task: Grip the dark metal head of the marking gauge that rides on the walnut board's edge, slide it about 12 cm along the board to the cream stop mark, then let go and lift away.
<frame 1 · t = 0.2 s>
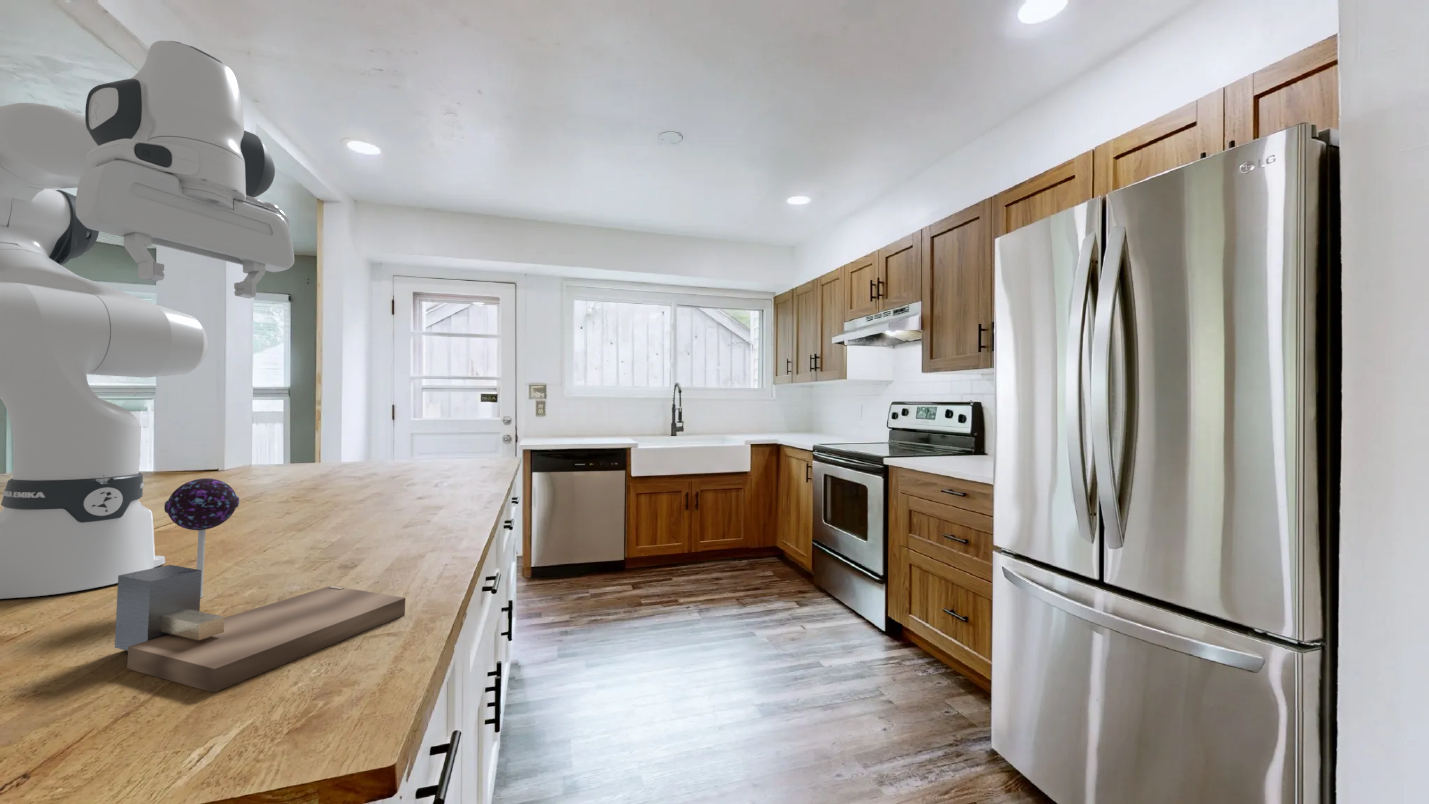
hand: (201, 288, 66), 39 cm above the countertop, tool pointing down, fingers open, 8 cm apart
board: (283, 638, 57), on the countertop
gauge: (176, 611, 53), point 4 cm above the countertop, slide at 0.0 cm
lollipop: (198, 599, 68), on the countertop
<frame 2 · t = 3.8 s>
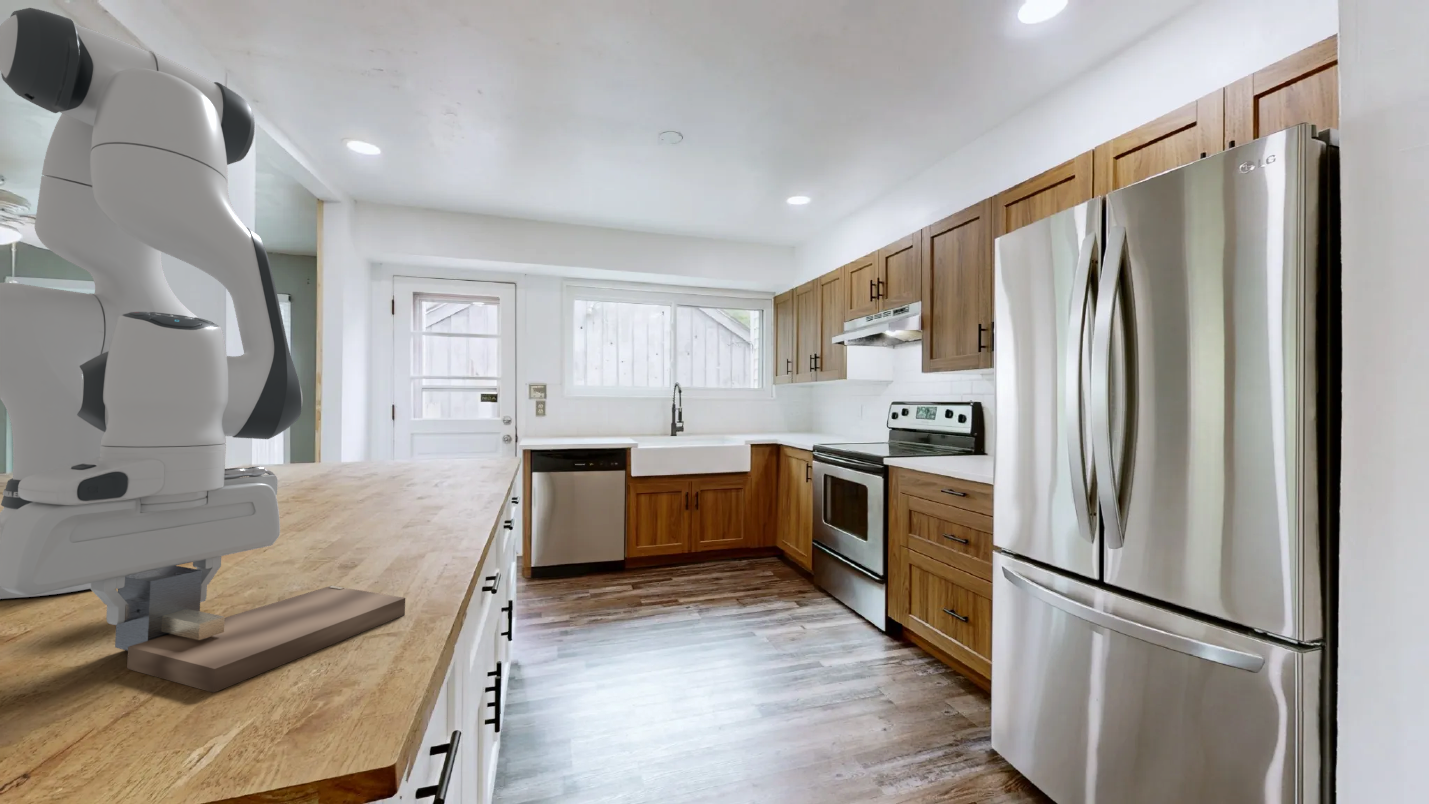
hand: (158, 612, 54), 4 cm above the countertop, tool pointing down, fingers closed on gauge, 4 cm apart
gauge: (177, 611, 53), point 4 cm above the countertop, slide at 0.0 cm, touching gripper
everything else where it was.
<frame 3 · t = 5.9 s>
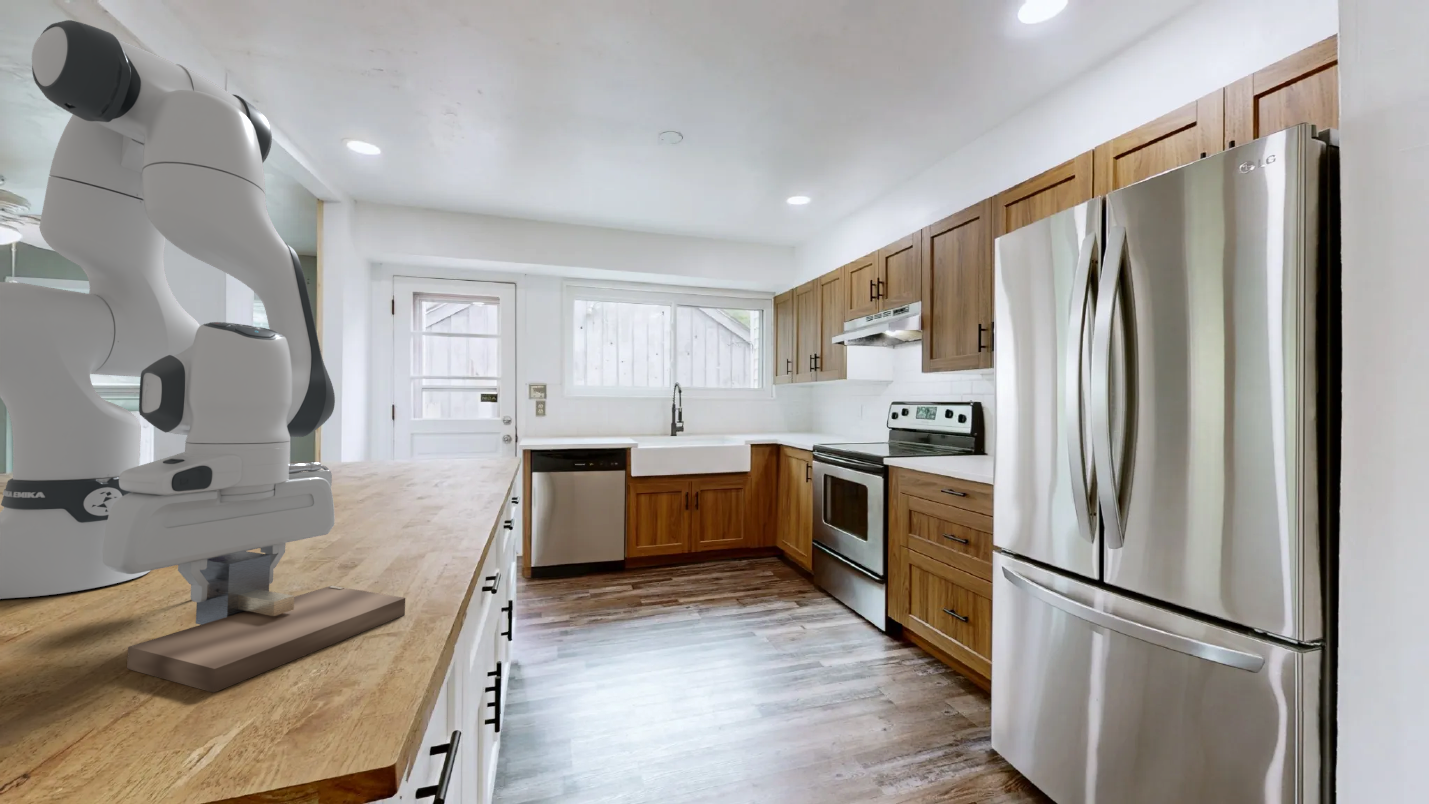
hand: (233, 592, 60), 4 cm above the countertop, tool pointing down, fingers closed on gauge, 4 cm apart
gauge: (250, 591, 59), point 4 cm above the countertop, slide at 6.5 cm, touching gripper
everything else where it was.
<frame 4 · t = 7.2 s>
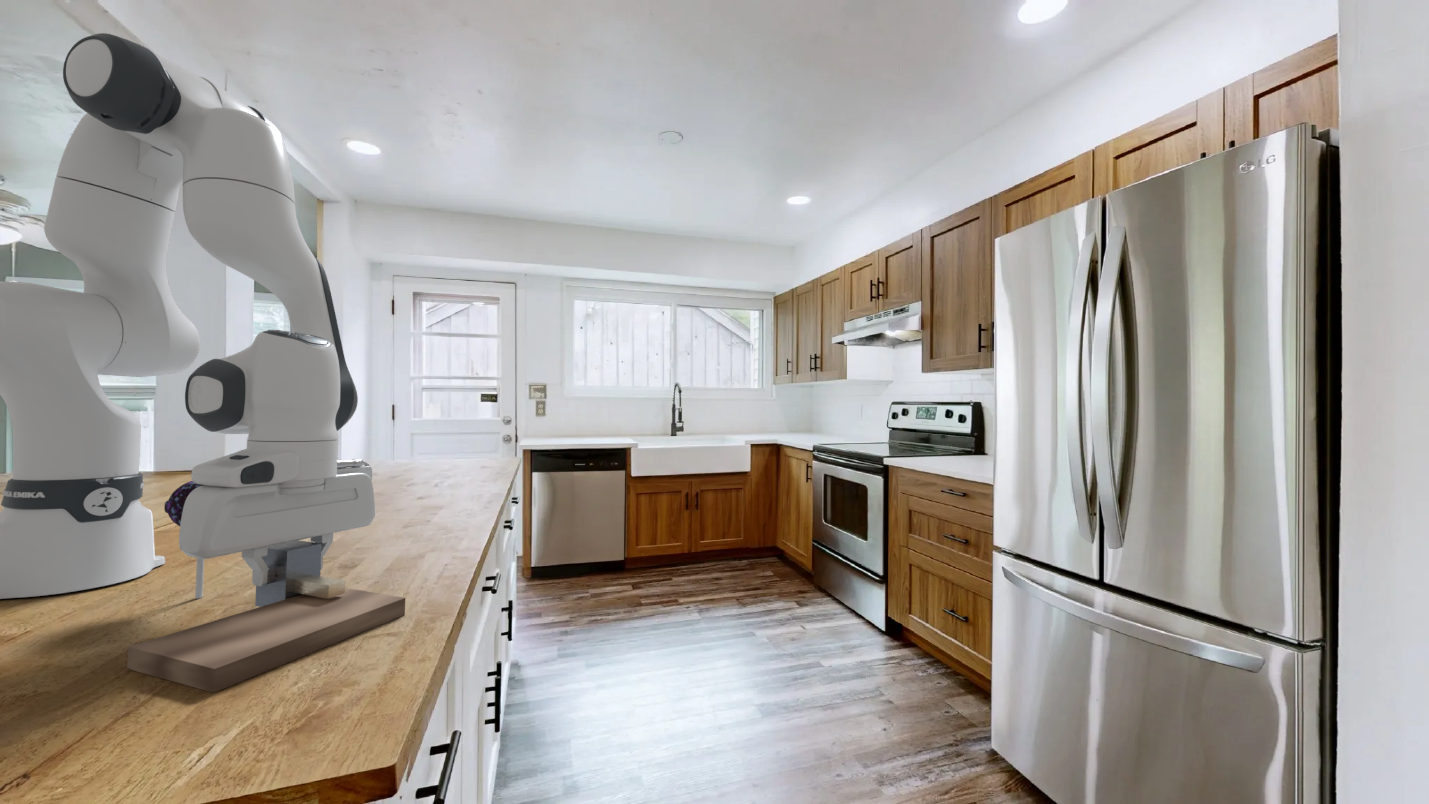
hand: (288, 577, 65), 4 cm above the countertop, tool pointing down, fingers closed on gauge, 4 cm apart
gauge: (305, 576, 64), point 4 cm above the countertop, slide at 12.2 cm, touching gripper
everything else where it was.
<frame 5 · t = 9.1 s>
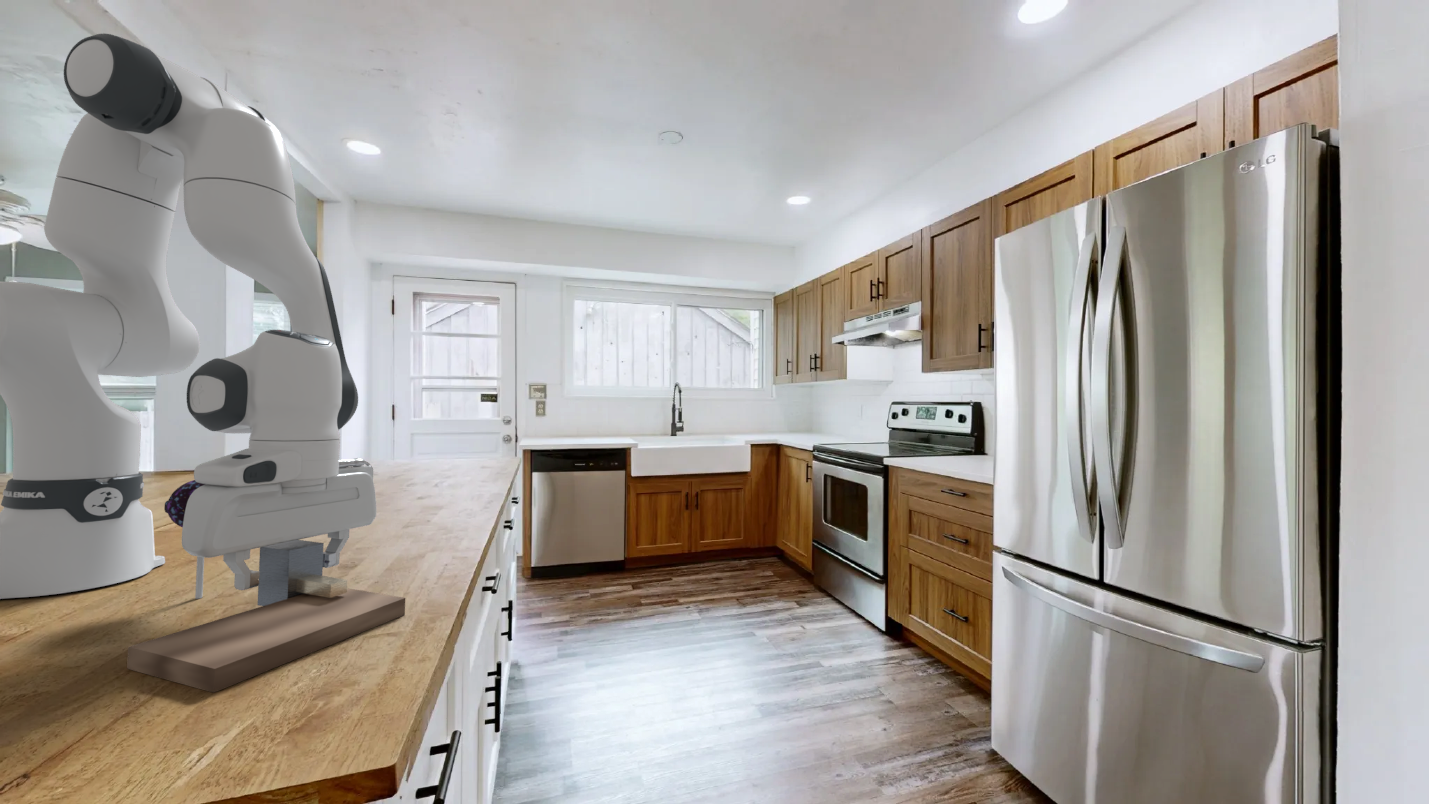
hand: (290, 576, 66), 4 cm above the countertop, tool pointing down, fingers open, 8 cm apart
gauge: (307, 576, 65), point 4 cm above the countertop, slide at 12.5 cm
everything else where it was.
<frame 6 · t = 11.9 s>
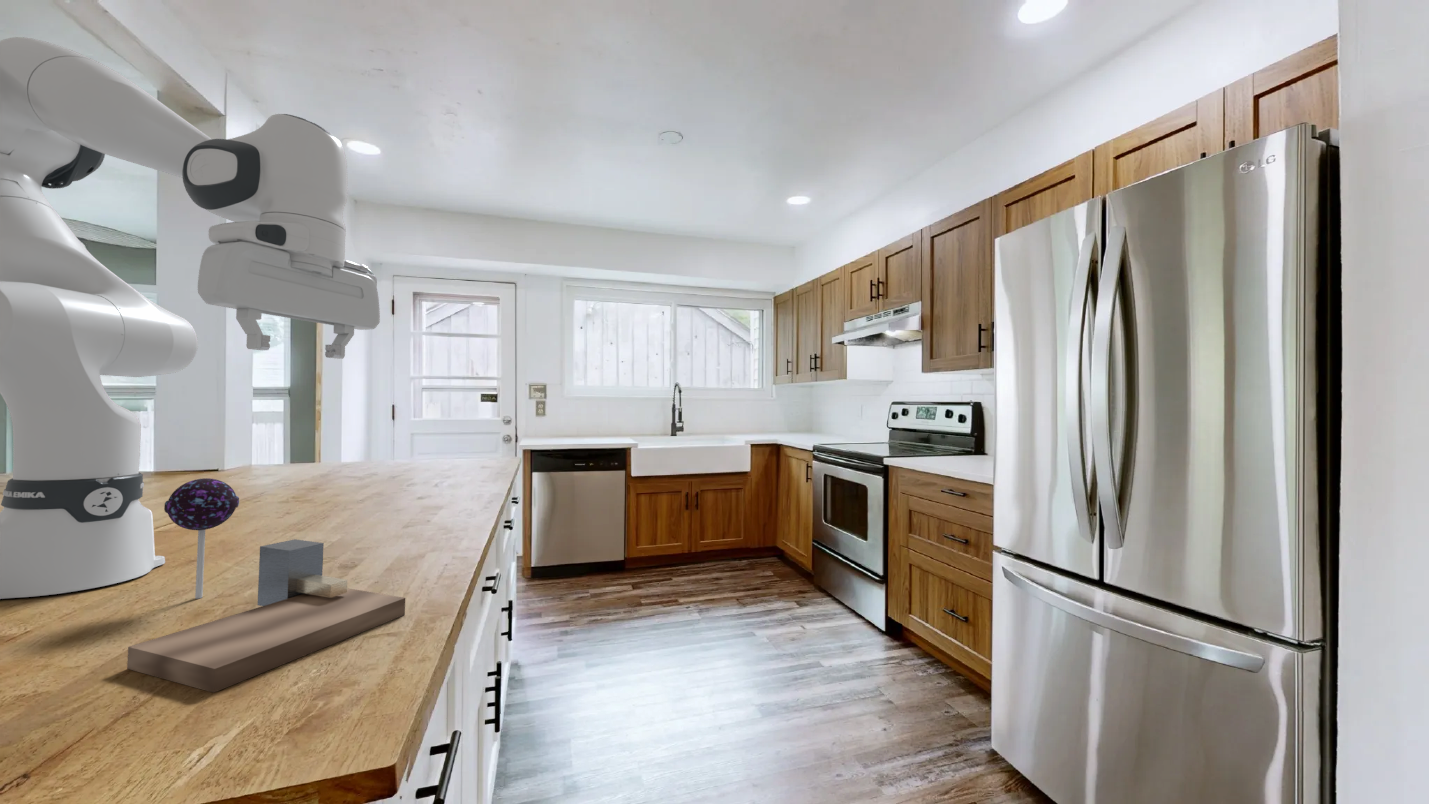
hand: (298, 354, 69), 31 cm above the countertop, tool pointing down, fingers open, 8 cm apart
nothing on the countertop moved.
at the end: gauge slide at 12.5 cm; the gripper is holding nothing; lollipop moved 0.2 cm from its start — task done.
